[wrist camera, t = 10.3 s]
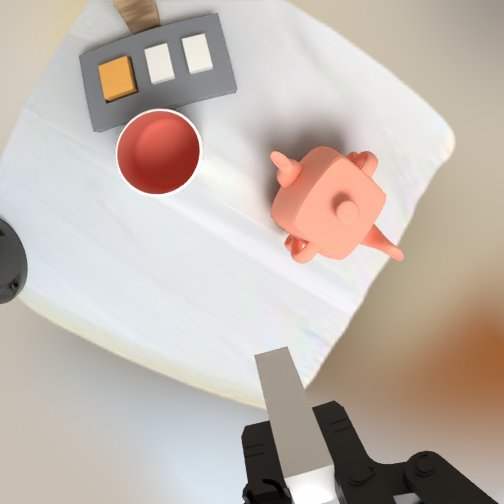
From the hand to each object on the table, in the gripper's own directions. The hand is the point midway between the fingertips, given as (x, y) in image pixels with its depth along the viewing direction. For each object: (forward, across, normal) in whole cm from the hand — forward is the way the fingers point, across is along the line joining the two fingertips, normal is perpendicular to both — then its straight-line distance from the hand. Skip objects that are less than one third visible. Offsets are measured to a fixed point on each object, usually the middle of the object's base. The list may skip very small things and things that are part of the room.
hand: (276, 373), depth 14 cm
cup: (+35, -6, +12) cm, 37 cm away
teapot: (+35, +13, 0) cm, 37 cm away
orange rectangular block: (+33, -10, +24) cm, 42 cm away
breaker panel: (+34, -5, +24) cm, 42 cm away
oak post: (+34, -5, +32) cm, 48 cm away
